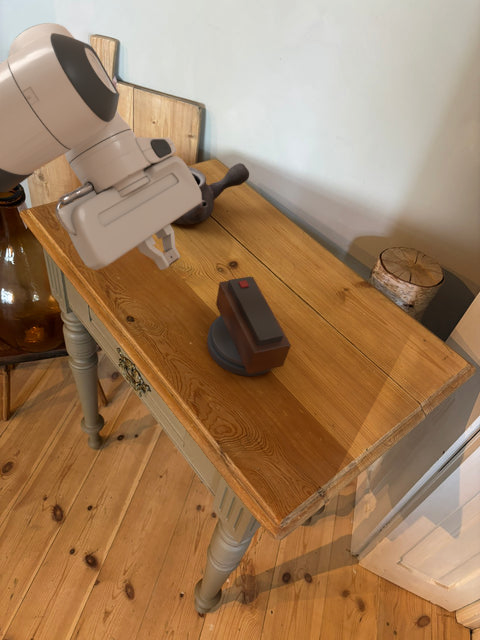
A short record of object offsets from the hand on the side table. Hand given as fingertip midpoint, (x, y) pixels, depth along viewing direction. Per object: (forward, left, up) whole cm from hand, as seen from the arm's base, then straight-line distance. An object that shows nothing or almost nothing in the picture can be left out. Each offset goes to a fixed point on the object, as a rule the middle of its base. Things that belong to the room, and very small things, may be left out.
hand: (171, 264), depth 62 cm
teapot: (-15, +28, -14) cm, 35 cm away
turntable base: (+11, +5, -13) cm, 18 cm away
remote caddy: (+11, +5, -12) cm, 17 cm away
